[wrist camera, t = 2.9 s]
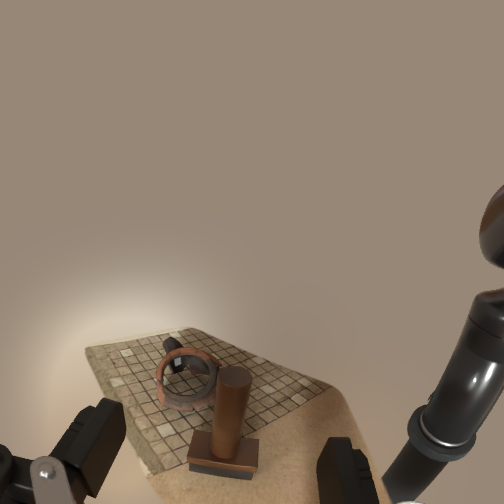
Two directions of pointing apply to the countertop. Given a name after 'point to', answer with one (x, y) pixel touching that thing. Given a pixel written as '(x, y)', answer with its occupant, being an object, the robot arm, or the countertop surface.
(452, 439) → the robot arm
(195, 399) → the pottery mug
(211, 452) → the brush
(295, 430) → the countertop surface
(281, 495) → the countertop surface
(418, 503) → the beverage can
